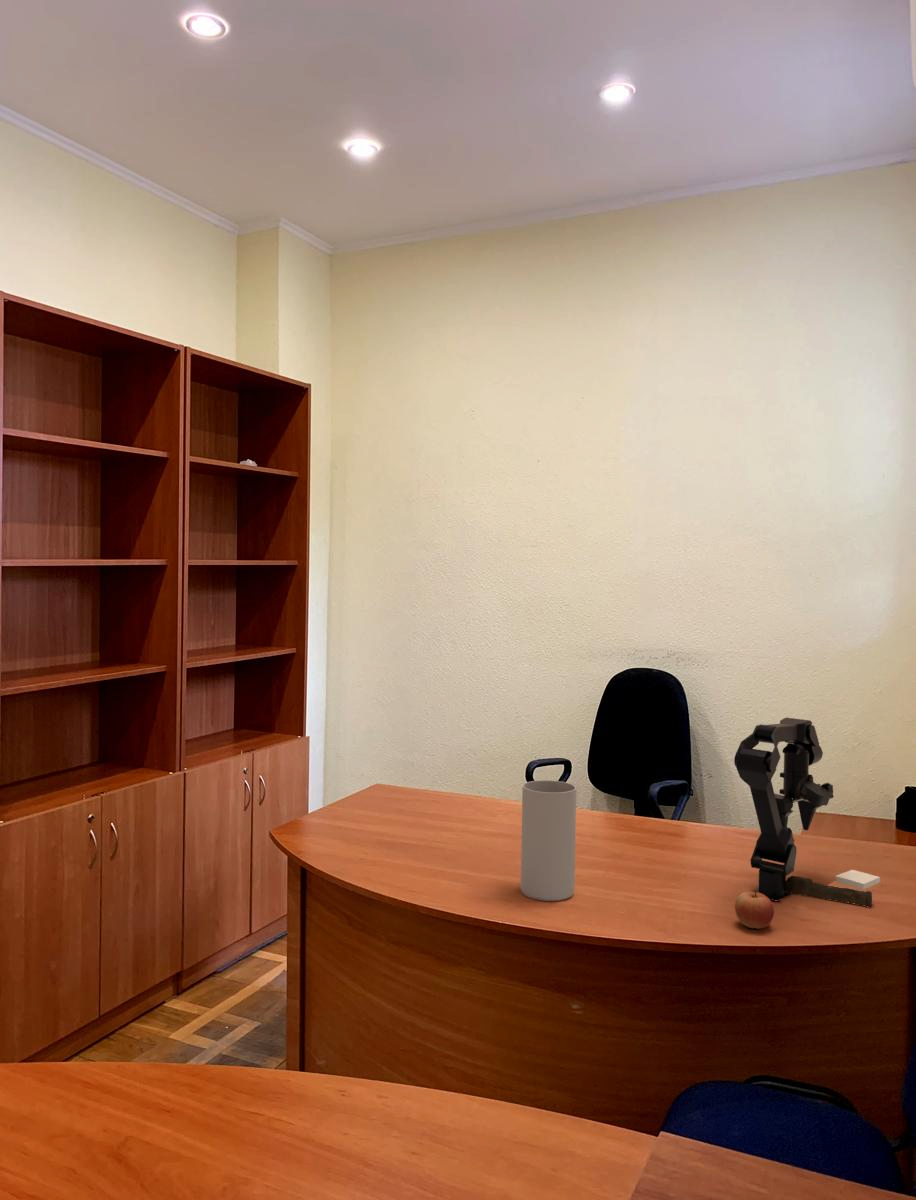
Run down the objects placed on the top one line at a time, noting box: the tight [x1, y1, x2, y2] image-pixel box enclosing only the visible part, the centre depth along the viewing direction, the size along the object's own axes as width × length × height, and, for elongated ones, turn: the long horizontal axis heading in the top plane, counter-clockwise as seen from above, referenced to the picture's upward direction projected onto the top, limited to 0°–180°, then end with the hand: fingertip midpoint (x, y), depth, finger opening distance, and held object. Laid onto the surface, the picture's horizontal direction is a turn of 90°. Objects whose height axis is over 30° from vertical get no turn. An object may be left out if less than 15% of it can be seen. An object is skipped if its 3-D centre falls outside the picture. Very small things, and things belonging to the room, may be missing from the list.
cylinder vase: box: [520, 779, 577, 902], centre depth 211 cm, size 12×12×25 cm
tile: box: [835, 869, 881, 890], centre depth 220 cm, size 2×7×8 cm
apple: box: [734, 888, 775, 930], centre depth 193 cm, size 8×8×8 cm
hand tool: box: [785, 875, 873, 908], centre depth 210 cm, size 19×4×5 cm, turn 58°
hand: (794, 833), depth 222 cm, fingers open, 9 cm apart
